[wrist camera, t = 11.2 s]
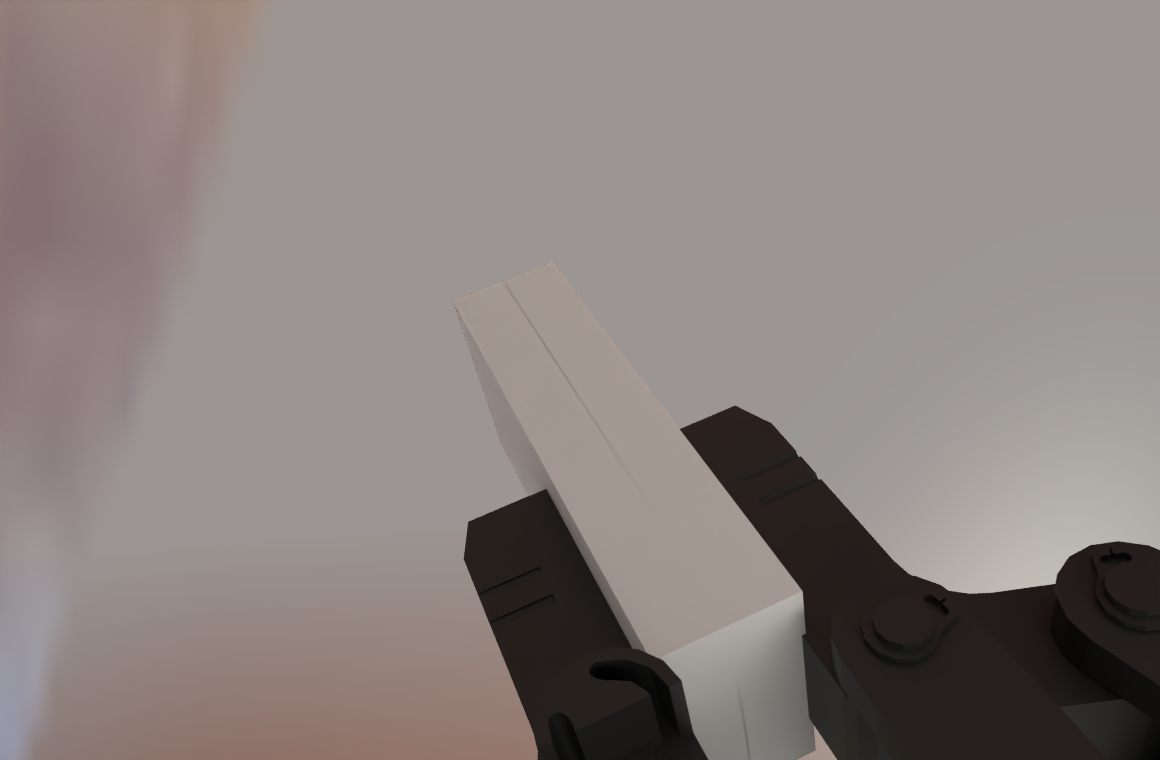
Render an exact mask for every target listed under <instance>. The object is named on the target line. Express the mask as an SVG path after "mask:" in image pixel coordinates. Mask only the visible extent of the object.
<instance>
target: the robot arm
mask: <svg viewBox="0 0 1160 760" xmlns="http://www.w3.org/2000/svg"><path fill="white" fill-rule="evenodd" d="M453 303H454V306H455V309H456V312H457V314H458V318H459V321H460V323H461V326H462V329H463V332H464V335H465V338H466V341H467V344H468V347H469V350H470V353H471V356H472V359H473V362H474V365H475V368H476V371H477V373H478V377H479V379H480V383H481V386H482V388H483V391H484V394H485V397H486V400H487V403H488V406H489V409H490V412H491V415H492V418H493V420H494V424H495V427H496V430H497V433H498V436H499V439H500V442H501V444H502V446H503V448H504V450H505V452H506V454H507V456H508V458H509V460H510V461H511V464H512V465H513V467H514V469H515V471H516V473H517V475H518V477H519V479H520V481H521V483H522V485H523V487H524V489H525V491H526V493H527V495H528V497H526V498H523V499H521V500H518V501H516V502H514V503H511V504H509V505H507V506H504V507H502V508H500V509H498V510H495V511H493V512H490V513H488V514H486V515H483V516H481V517H479V518H476V519H474V520H472V521H469V522H468V529H467V537H466V545H465V553H464V561H465V563H466V566H467V568H468V571H469V573H470V576H471V578H472V581H473V583H474V586H475V588H476V591H477V593H478V596H479V598H480V601H481V603H482V605H483V608H484V611H485V613H486V616H487V618H488V621H489V623H490V626H491V628H492V630H493V633H494V635H495V638H496V641H497V643H498V646H499V648H500V650H501V653H502V656H503V658H504V660H505V663H506V665H507V668H508V670H509V673H510V675H511V678H512V680H513V683H514V685H515V688H516V690H517V693H518V695H519V698H520V700H521V703H522V705H523V708H524V710H525V713H526V715H527V718H528V720H529V723H530V725H531V728H532V730H533V733H534V737H535V741H536V745H537V749H538V760H797V759H799V758H801V757H803V756H805V755H807V754H809V753H811V752H813V751H815V738H814V726H815V727H816V729H817V730H818V732H819V733H820V735H821V736H822V737H823V739H824V740H825V742H826V744H827V745H828V746H829V748H830V749H831V751H832V752H833V754H834V755H835V757H836V758H837V760H1160V550H1158V549H1156V548H1153V547H1151V546H1148V545H1140V544H1133V543H1126V542H1119V541H1118V542H1110V543H1104V544H1096V545H1090V546H1088V547H1086V548H1085V549H1083V550H1081V551H1079V552H1077V553H1075V554H1073V555H1072V556H1070V557H1069V558H1068V559H1067V561H1066V562H1065V564H1064V566H1063V567H1062V568H1061V570H1060V571H1059V573H1058V574H1057V579H1056V584H1052V585H1045V586H1038V587H1030V588H1024V589H1016V590H1009V591H1002V592H995V593H978V594H967V593H959V592H952V591H948V590H946V589H945V588H944V587H943V586H941V585H939V584H936V583H933V582H930V581H927V580H925V579H922V578H919V577H916V576H912V575H910V574H908V573H907V572H906V571H905V570H903V569H902V568H901V567H900V566H899V565H898V564H897V563H896V562H894V561H893V560H892V559H891V557H890V556H889V555H888V554H887V553H886V552H885V551H884V549H883V548H882V547H881V546H880V545H879V544H878V543H877V542H876V540H875V539H874V538H873V537H872V536H871V535H870V534H869V533H868V531H867V530H866V529H865V528H864V527H863V526H862V525H861V524H860V522H859V521H858V520H857V519H856V518H855V517H854V516H853V515H852V514H851V512H850V511H849V510H848V509H847V508H846V507H845V506H844V505H843V503H842V502H841V501H840V500H839V499H838V498H837V497H836V495H835V494H834V493H833V492H832V491H831V490H830V489H829V488H828V486H827V485H826V484H825V483H824V482H823V481H822V480H821V479H820V480H819V479H818V478H817V476H816V473H815V472H814V471H813V470H812V468H811V467H810V466H809V465H808V464H807V463H806V462H805V461H804V459H803V458H802V457H798V455H797V453H796V450H795V449H794V448H793V447H792V446H791V445H790V444H789V443H788V441H787V440H786V439H785V438H784V437H783V436H782V435H781V434H780V433H779V431H778V430H777V429H776V428H775V427H774V426H773V425H772V424H771V423H770V422H768V421H765V420H763V419H761V418H759V417H757V416H755V415H753V414H751V413H749V412H747V411H745V410H743V409H741V408H739V407H737V406H733V407H731V408H729V409H726V410H724V411H721V412H719V413H717V414H715V415H712V416H710V417H707V418H705V419H703V420H701V421H698V422H696V423H693V424H691V425H689V426H686V427H684V428H681V429H679V428H678V427H677V425H676V424H675V423H674V421H673V420H672V419H671V417H670V416H669V415H668V413H667V412H666V411H665V409H664V408H663V407H662V405H661V404H660V403H659V401H657V399H656V398H655V396H654V395H653V394H652V392H651V391H650V390H649V388H648V387H647V386H646V384H645V383H644V382H643V380H642V379H641V378H640V376H639V375H638V374H637V373H636V371H635V370H634V369H633V367H632V366H631V365H630V363H629V362H628V361H627V359H626V358H625V357H624V355H623V354H622V353H621V351H620V350H619V349H618V347H617V346H616V345H615V344H614V342H613V341H612V340H611V338H610V337H609V336H608V334H607V333H606V332H605V330H604V329H603V328H602V327H601V325H600V324H599V323H598V321H597V320H596V318H595V317H594V316H593V315H592V313H591V312H590V311H589V309H588V308H587V307H586V305H585V304H584V303H583V301H582V300H581V299H580V297H579V296H578V295H577V293H576V292H575V291H574V290H573V288H572V287H571V286H570V284H569V283H568V282H567V280H566V279H565V278H564V276H563V275H562V274H561V272H560V271H559V270H558V268H557V267H556V266H555V264H554V263H553V262H552V263H549V264H546V265H544V266H541V267H538V268H536V269H533V270H531V271H528V272H525V273H523V274H520V275H518V276H515V277H513V278H510V279H508V280H505V281H502V282H499V283H497V284H494V285H492V286H489V287H486V288H484V289H481V290H479V291H476V292H473V293H471V294H468V295H466V296H463V297H460V298H458V299H455V300H453ZM813 724H814V726H813Z"/></svg>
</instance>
